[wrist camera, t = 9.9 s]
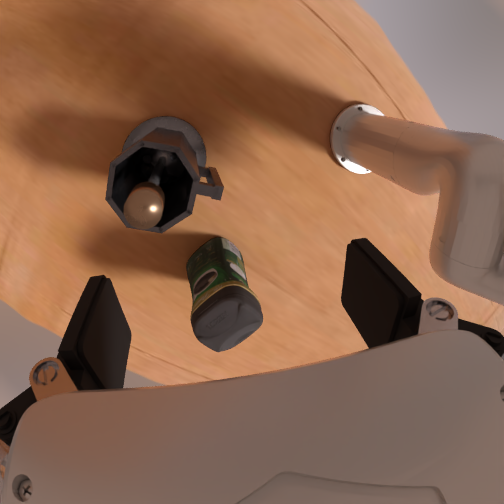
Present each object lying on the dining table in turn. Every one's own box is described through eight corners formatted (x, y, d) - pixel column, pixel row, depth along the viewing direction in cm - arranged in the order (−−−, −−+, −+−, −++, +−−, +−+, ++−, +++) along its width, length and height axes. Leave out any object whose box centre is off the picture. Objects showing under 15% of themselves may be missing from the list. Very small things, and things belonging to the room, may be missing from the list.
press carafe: (222, 127, 42) (242, 141, 28) (202, 205, 48) (210, 257, 33) (131, 109, 38) (100, 114, 23) (116, 190, 43) (86, 236, 29)
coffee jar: (210, 289, 56) (223, 364, 40) (179, 264, 52) (180, 338, 36) (249, 256, 54) (277, 325, 38) (219, 227, 50) (237, 293, 34)
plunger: (191, 140, 41) (196, 175, 22) (181, 186, 44) (178, 257, 25) (144, 132, 39) (106, 160, 20) (135, 178, 42) (97, 243, 23)
